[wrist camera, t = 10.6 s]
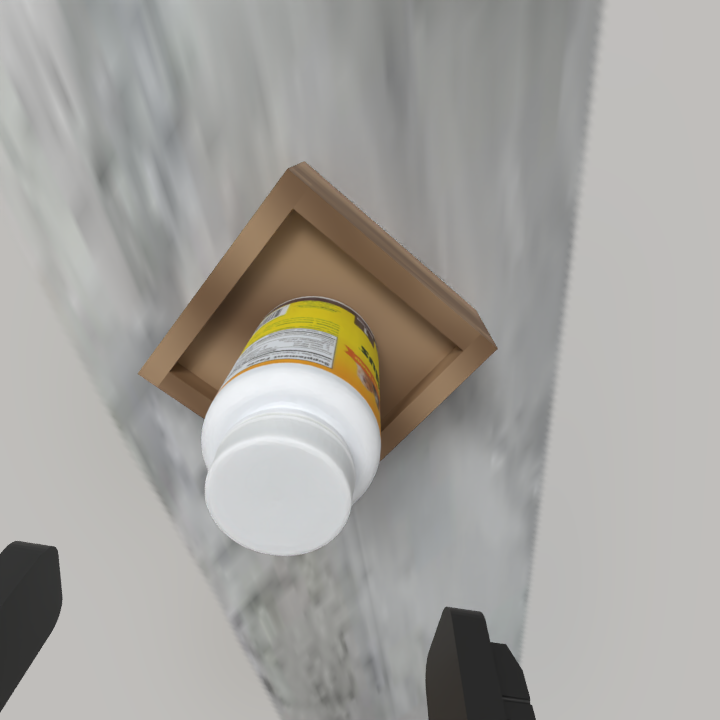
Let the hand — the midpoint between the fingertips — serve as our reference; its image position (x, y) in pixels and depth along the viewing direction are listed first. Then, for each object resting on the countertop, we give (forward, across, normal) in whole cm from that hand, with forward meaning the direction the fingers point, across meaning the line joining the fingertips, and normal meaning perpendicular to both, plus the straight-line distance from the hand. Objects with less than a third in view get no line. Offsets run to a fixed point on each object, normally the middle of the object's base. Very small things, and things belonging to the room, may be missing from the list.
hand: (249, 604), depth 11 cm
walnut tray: (+17, 0, 0) cm, 17 cm away
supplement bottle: (+14, 0, 0) cm, 14 cm away
